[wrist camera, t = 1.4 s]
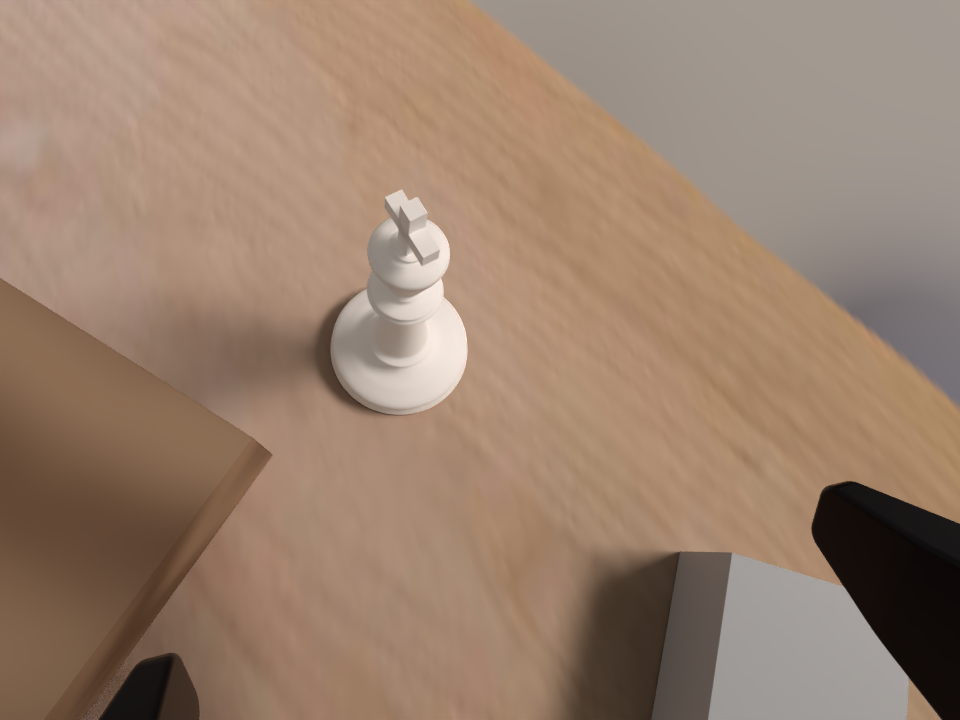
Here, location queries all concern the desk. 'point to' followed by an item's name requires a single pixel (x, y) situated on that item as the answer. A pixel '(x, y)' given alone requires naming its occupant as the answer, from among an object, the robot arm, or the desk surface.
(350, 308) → the chess piece
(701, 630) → the slate block
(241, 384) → the desk surface
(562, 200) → the desk surface
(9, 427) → the walnut block
